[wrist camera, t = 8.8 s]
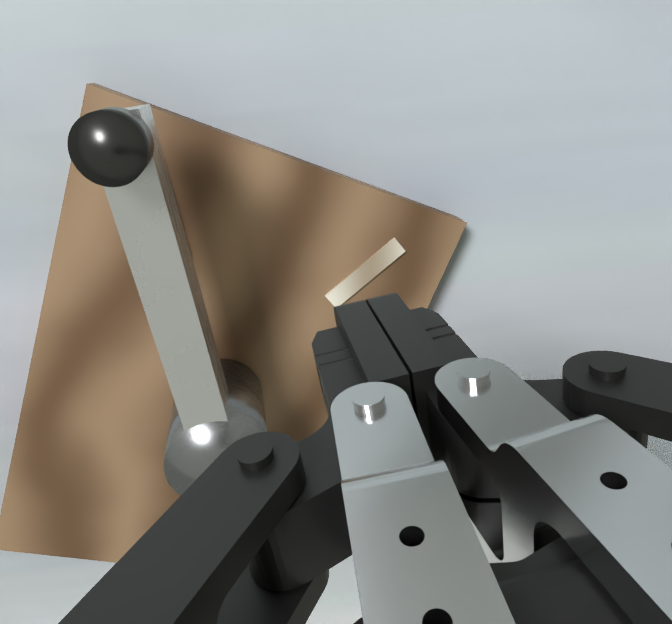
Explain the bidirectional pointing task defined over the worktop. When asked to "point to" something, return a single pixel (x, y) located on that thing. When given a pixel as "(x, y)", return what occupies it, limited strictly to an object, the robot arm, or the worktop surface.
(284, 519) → the robot arm
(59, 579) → the worktop surface
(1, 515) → the dial plate
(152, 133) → the lever
